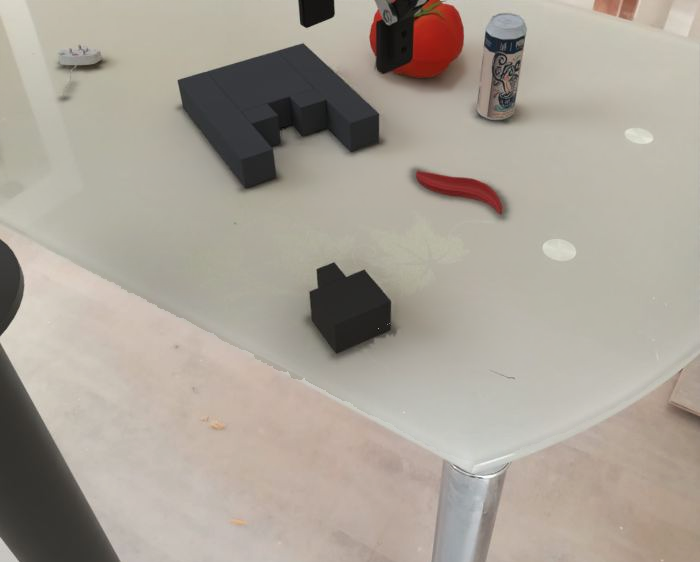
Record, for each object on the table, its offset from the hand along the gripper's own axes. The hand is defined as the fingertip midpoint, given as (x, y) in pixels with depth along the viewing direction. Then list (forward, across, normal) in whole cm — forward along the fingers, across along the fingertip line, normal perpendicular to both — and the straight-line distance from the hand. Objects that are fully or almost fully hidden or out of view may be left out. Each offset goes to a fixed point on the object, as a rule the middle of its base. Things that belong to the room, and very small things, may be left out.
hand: (354, 43), depth 62 cm
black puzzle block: (+24, +4, -6) cm, 25 cm away
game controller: (+24, -56, -6) cm, 61 cm away
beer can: (+25, -12, +32) cm, 42 cm away
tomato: (+25, -27, +32) cm, 48 cm away
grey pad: (+24, -28, +9) cm, 38 cm away
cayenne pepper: (+25, -3, +17) cm, 30 cm away
